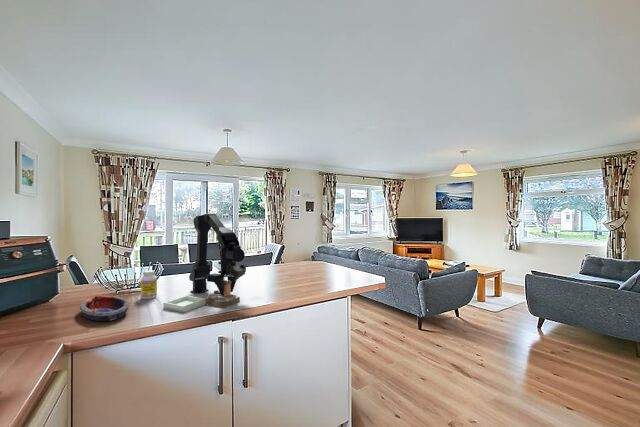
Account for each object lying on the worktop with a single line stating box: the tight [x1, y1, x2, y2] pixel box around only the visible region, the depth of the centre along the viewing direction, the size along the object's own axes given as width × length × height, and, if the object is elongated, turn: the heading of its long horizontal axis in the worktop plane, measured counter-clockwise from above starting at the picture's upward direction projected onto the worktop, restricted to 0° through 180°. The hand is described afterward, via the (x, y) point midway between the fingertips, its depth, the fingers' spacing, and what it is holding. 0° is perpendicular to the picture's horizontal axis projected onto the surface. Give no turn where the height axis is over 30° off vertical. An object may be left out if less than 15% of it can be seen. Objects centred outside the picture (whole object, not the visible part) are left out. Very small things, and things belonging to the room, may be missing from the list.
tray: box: [162, 294, 207, 313], centre depth 129 cm, size 12×12×2 cm
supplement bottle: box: [140, 269, 158, 300], centre depth 143 cm, size 7×7×13 cm
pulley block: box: [203, 289, 241, 308], centre depth 135 cm, size 14×10×5 cm
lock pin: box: [224, 280, 232, 298], centre depth 133 cm, size 4×4×8 cm
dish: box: [79, 295, 130, 322], centre depth 121 cm, size 16×31×5 cm, turn 46°
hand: (227, 293), depth 133 cm, fingers open, 5 cm apart
